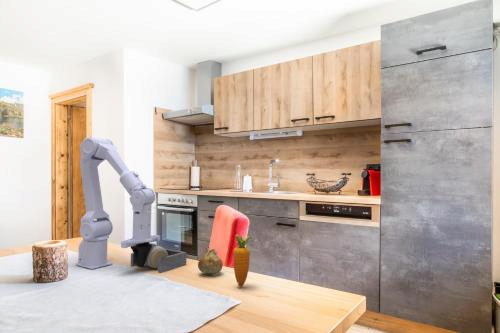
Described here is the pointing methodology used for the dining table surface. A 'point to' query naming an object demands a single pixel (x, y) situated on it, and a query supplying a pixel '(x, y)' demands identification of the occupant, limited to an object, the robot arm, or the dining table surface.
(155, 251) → the ceramic mug
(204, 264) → the onion
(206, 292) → the dining table surface
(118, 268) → the dining table surface
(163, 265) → the grey u-shaped piece
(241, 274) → the carrot
